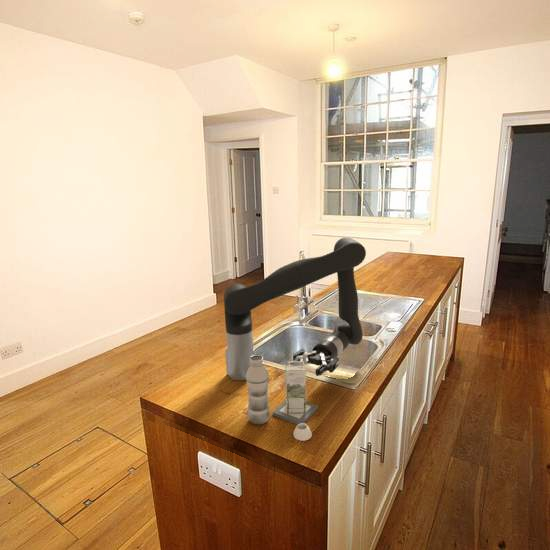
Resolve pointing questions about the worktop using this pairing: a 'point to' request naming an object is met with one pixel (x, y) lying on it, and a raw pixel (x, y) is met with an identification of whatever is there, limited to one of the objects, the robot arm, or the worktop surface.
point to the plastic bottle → (257, 391)
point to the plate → (295, 417)
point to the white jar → (302, 432)
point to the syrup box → (295, 386)
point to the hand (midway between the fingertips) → (304, 369)
